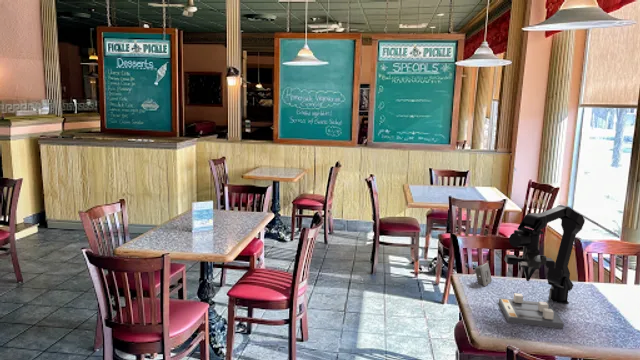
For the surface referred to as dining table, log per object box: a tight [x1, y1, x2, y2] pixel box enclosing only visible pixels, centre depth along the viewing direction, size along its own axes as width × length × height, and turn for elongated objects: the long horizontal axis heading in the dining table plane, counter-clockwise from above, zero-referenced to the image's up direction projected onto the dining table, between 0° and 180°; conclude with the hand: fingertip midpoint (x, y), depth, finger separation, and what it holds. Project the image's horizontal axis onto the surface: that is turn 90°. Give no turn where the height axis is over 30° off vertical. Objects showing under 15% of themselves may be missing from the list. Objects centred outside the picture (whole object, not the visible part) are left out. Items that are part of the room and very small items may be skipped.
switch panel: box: [498, 297, 565, 329], centre depth 189 cm, size 20×20×2 cm
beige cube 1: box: [513, 292, 524, 303], centre depth 196 cm, size 3×3×3 cm
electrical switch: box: [474, 262, 493, 287], centre depth 225 cm, size 9×5×9 cm, turn 141°
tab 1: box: [537, 301, 549, 312], centre depth 188 cm, size 3×3×3 cm
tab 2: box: [543, 308, 554, 320], centre depth 181 cm, size 3×3×3 cm
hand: (527, 280), depth 195 cm, fingers closed
